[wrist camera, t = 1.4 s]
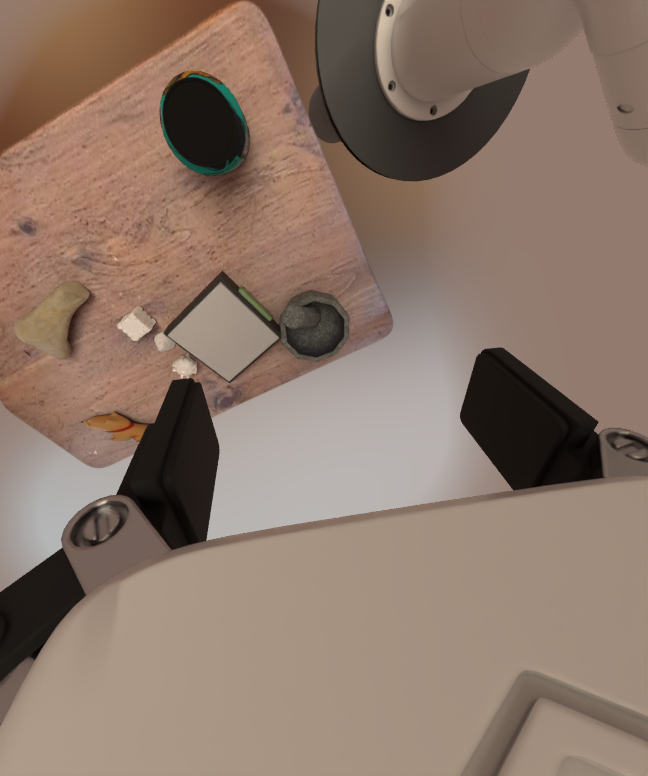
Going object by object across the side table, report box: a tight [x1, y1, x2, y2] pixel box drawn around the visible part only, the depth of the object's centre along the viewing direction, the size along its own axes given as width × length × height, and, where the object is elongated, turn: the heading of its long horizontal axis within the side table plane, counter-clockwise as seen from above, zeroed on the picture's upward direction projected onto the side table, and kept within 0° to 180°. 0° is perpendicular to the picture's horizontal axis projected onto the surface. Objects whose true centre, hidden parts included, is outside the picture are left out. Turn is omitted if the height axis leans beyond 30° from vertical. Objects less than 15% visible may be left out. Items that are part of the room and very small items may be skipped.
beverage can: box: [160, 71, 250, 176], centre depth 31 cm, size 7×7×12 cm
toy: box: [81, 412, 148, 443], centre depth 55 cm, size 3×17×5 cm
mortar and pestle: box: [280, 290, 349, 362], centre depth 44 cm, size 11×9×12 cm
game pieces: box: [117, 306, 197, 379], centre depth 47 cm, size 12×3×3 cm, turn 32°
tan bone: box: [14, 281, 90, 359], centre depth 42 cm, size 11×6×5 cm, turn 145°
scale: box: [164, 271, 282, 383], centre depth 48 cm, size 13×12×3 cm
